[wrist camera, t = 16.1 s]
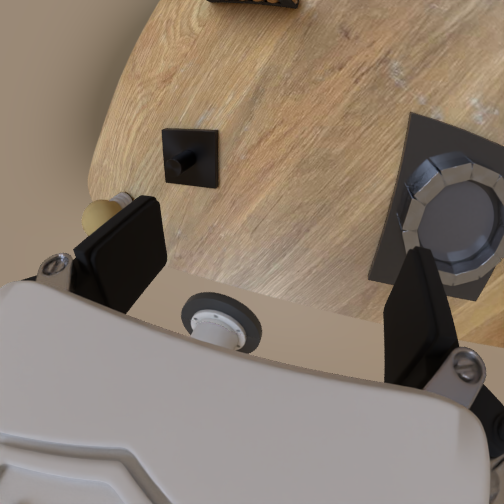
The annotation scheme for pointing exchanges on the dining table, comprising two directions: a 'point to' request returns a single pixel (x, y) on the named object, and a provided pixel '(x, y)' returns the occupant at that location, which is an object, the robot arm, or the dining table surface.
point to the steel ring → (428, 188)
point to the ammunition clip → (264, 2)
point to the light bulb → (103, 211)
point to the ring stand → (191, 157)
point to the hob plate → (441, 203)
